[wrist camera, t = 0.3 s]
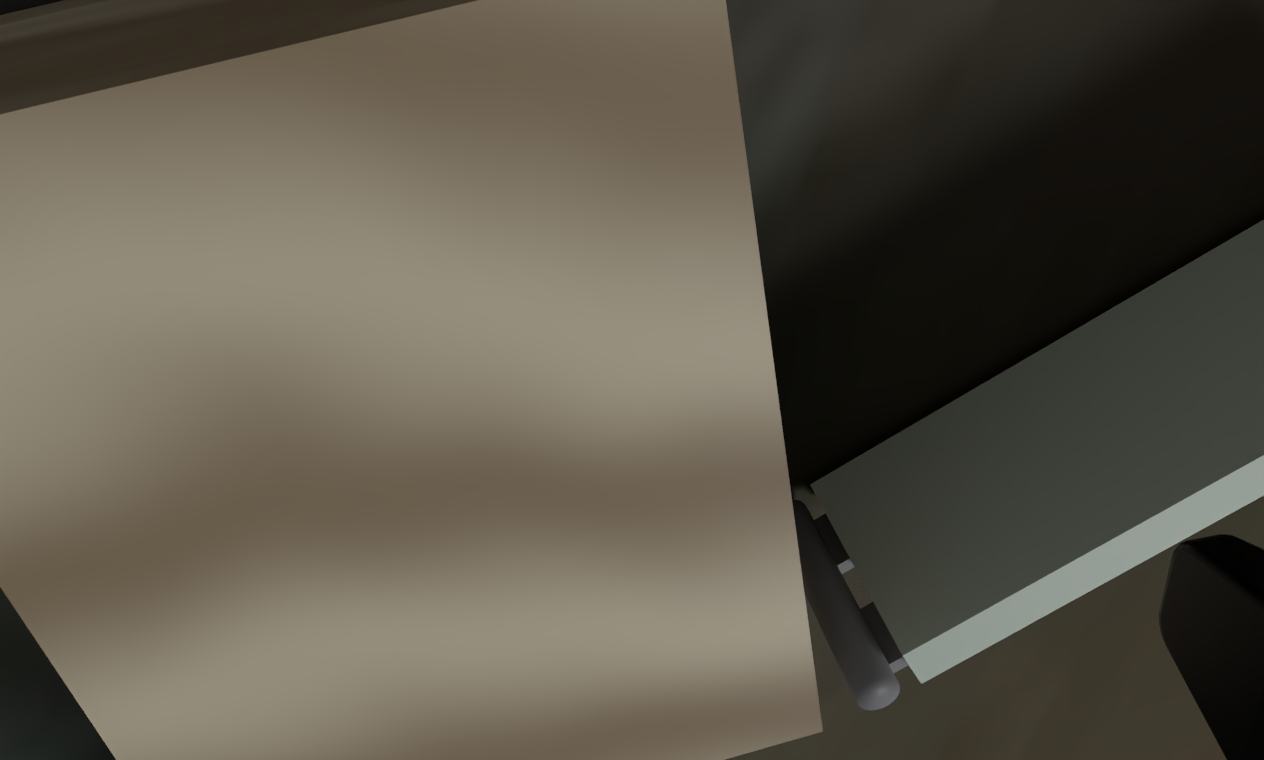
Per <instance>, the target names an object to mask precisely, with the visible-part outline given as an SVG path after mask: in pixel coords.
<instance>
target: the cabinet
mask: <svg viewBox="0 0 1264 760" xmlns="http://www.w3.org/2000/svg"><path fill="white" fill-rule="evenodd" d="M0 587H1V589H2V590H3V592H4V593H5V595H6V596H7V598H8V599H9V601H10V602H11V604H12V605H13V607H14V608H15V610H16V611H17V613H18V614H19V616H20V617H21V619H22V620H23V622H24V623H25V625H26V626H27V628H28V629H29V630H30V632H31V633H32V635H33V636H34V638H35V639H36V641H37V642H38V644H39V645H40V647H41V648H42V650H43V651H44V653H45V654H46V656H47V657H48V659H49V660H50V662H51V663H52V665H53V666H54V668H55V669H56V671H57V672H58V674H59V675H60V677H61V678H62V680H63V681H64V683H65V684H66V686H67V687H68V689H69V690H70V692H71V693H72V695H73V696H74V698H75V699H76V701H77V702H78V704H79V705H80V707H81V708H82V710H83V711H84V712H85V714H86V715H87V717H88V718H89V720H90V721H91V723H92V724H93V726H94V727H95V729H96V730H97V732H98V733H99V735H100V736H101V738H102V739H103V741H104V742H105V744H106V745H107V747H108V748H109V750H110V751H111V753H112V754H113V756H114V757H115V759H116V760H725V759H728V758H732V757H735V756H739V755H742V754H746V753H749V752H753V751H756V750H760V749H763V748H767V747H770V746H774V745H777V744H781V743H784V742H788V741H791V740H794V739H798V738H801V737H805V736H808V735H812V734H815V733H819V732H822V731H823V729H822V722H821V714H820V707H819V699H818V692H817V684H816V677H815V669H814V662H813V654H812V647H811V639H810V631H809V624H808V616H807V609H806V601H805V594H804V586H803V579H802V571H801V564H800V556H799V549H798V541H797V534H796V526H795V519H794V511H793V504H792V496H791V488H790V481H789V473H788V466H787V458H786V451H785V443H784V436H783V428H782V421H781V413H780V406H779V398H778V391H777V383H776V376H775V368H774V361H773V353H772V345H771V338H770V330H769V323H768V315H767V308H766V300H765V293H764V285H763V278H762V270H761V263H760V255H759V248H758V240H757V233H756V225H755V217H754V210H753V202H752V195H751V187H750V180H749V172H748V165H747V157H746V150H745V142H744V135H743V127H742V120H741V112H740V105H739V97H738V90H737V82H736V74H735V67H734V59H733V52H732V44H731V37H730V29H729V22H728V14H727V7H726V0H63V1H59V2H54V3H50V4H46V5H42V6H37V7H33V8H29V9H24V10H20V11H16V12H12V13H7V14H3V15H0Z"/></svg>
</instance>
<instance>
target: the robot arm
mask: <svg viewBox="0 0 1264 760" xmlns="http://www.w3.org/2000/svg"><path fill="white" fill-rule="evenodd" d="M1159 625H1160V631H1161V634H1162V637H1163V640H1164V642H1165V644H1166V647H1167V648H1168V650H1169V652H1170V654H1171V656H1172V658H1173V660H1174V661H1175V663H1176V665H1177V667H1178V669H1179V671H1180V673H1181V675H1182V676H1183V678H1184V680H1185V682H1186V684H1187V686H1188V688H1189V690H1190V691H1191V693H1192V695H1193V697H1194V699H1195V701H1196V703H1197V705H1198V706H1199V708H1200V710H1201V712H1202V714H1203V716H1204V718H1205V720H1206V721H1207V723H1208V725H1209V727H1210V729H1211V731H1212V733H1213V734H1214V736H1215V738H1216V740H1217V742H1218V744H1219V746H1220V748H1221V749H1222V751H1223V753H1224V755H1225V757H1226V759H1227V760H1264V549H1262V548H1260V547H1257V546H1255V545H1253V544H1251V543H1249V542H1246V541H1244V540H1242V539H1240V538H1237V537H1235V536H1232V535H1225V534H1219V535H1214V536H1209V537H1204V538H1198V539H1193V540H1188V541H1185V542H1183V543H1180V545H1179V546H1178V547H1177V548H1176V549H1175V551H1174V553H1173V556H1172V560H1171V564H1170V568H1169V572H1168V576H1167V581H1166V585H1165V589H1164V593H1163V597H1162V602H1161V606H1160V611H1159Z"/></svg>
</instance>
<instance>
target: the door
mask: <svg viewBox="0 0 1264 760" xmlns="http://www.w3.org/2000/svg"><path fill="white" fill-rule="evenodd" d="M810 485H811V487H812V489H813V491H814V493H815V495H816V496H817V498H818V500H819V502H820V504H821V506H822V508H823V509H824V511H825V513H826V514H824V515H822V516H820V517H819V518H817V519H815V520H813V518H812V516H811V514H810V512H809V510H808V508H807V507H806V505H805V504H804V503H803V502H801V501H798V500H792V504H793V511H794V519H795V526H796V534H797V541H798V549H799V556H800V564H801V571H802V579H803V586H804V593H805V595H806V597H807V599H808V601H809V603H810V605H811V607H812V610H813V612H814V614H815V616H816V618H817V620H818V622H819V624H820V626H821V629H822V631H823V633H824V635H825V637H826V639H827V641H828V643H829V646H830V648H831V650H832V652H833V654H834V656H835V658H836V660H837V663H838V665H839V667H840V669H841V671H842V673H843V675H844V677H845V680H846V682H847V684H848V686H849V688H850V690H851V692H852V694H853V697H854V699H855V701H856V703H857V705H858V706H859V707H860V708H862V709H865V710H877V709H881V708H884V707H886V706H887V705H889V704H890V703H892V702H893V701H894V700H895V699H896V698H897V696H898V694H899V691H900V685H899V683H898V681H897V679H896V677H895V675H894V673H895V672H897V671H899V670H900V669H902V668H904V667H906V666H908V665H909V666H910V668H911V669H912V671H913V672H914V674H915V675H916V677H917V678H918V680H919V681H920V683H921V684H922V683H924V682H926V681H927V680H929V679H931V678H933V677H935V676H937V675H938V674H940V673H942V672H944V671H946V670H947V669H949V668H951V667H953V666H955V665H956V664H958V663H960V662H962V661H964V660H966V659H967V658H969V657H971V656H973V655H975V654H976V653H978V652H980V651H982V650H984V649H986V648H987V647H989V646H991V645H993V644H995V643H996V642H998V641H1000V640H1002V639H1004V638H1006V637H1007V636H1009V635H1011V634H1013V633H1015V632H1016V631H1018V630H1020V629H1022V628H1024V627H1025V626H1027V625H1029V624H1031V623H1033V622H1035V621H1036V620H1038V619H1040V618H1042V617H1044V616H1045V615H1047V614H1049V613H1051V612H1053V611H1055V610H1056V609H1058V608H1060V607H1062V606H1064V605H1065V604H1067V603H1069V602H1071V601H1073V600H1075V599H1076V598H1078V597H1080V596H1082V595H1084V594H1085V593H1087V592H1089V591H1091V590H1093V589H1094V588H1096V587H1098V586H1100V585H1102V584H1104V583H1105V582H1107V581H1109V580H1111V579H1113V578H1114V577H1116V576H1118V575H1120V574H1122V573H1124V572H1125V571H1127V570H1129V569H1131V568H1133V567H1134V566H1136V565H1138V564H1140V563H1142V562H1144V561H1145V560H1147V559H1149V558H1151V557H1153V556H1154V555H1156V554H1158V553H1160V552H1162V551H1163V550H1165V549H1167V548H1169V547H1171V546H1173V545H1174V544H1176V543H1178V542H1180V541H1182V540H1183V539H1185V538H1187V537H1189V536H1191V535H1193V534H1194V533H1196V532H1198V531H1200V530H1202V529H1203V528H1205V527H1207V526H1209V525H1211V524H1213V523H1214V522H1216V521H1218V520H1220V519H1222V518H1223V517H1225V516H1227V515H1229V514H1231V513H1232V512H1234V511H1236V510H1238V509H1240V508H1242V507H1243V506H1245V505H1247V504H1249V503H1251V502H1252V501H1254V500H1256V499H1258V498H1260V497H1262V496H1263V495H1264V220H1262V221H1260V222H1259V223H1257V224H1255V225H1254V226H1252V227H1250V228H1248V229H1247V230H1245V231H1243V232H1242V233H1240V234H1238V235H1236V236H1235V237H1233V238H1231V239H1230V240H1228V241H1226V242H1224V243H1223V244H1221V245H1219V246H1218V247H1216V248H1214V249H1212V250H1211V251H1209V252H1207V253H1206V254H1204V255H1202V256H1200V257H1199V258H1197V259H1195V260H1194V261H1192V262H1190V263H1189V264H1187V265H1185V266H1183V267H1182V268H1180V269H1178V270H1177V271H1175V272H1173V273H1171V274H1170V275H1168V276H1166V277H1165V278H1163V279H1161V280H1159V281H1158V282H1156V283H1154V284H1153V285H1151V286H1149V287H1147V288H1146V289H1144V290H1142V291H1141V292H1139V293H1137V294H1135V295H1134V296H1132V297H1130V298H1129V299H1127V300H1125V301H1123V302H1122V303H1120V304H1118V305H1117V306H1115V307H1113V308H1111V309H1110V310H1108V311H1106V312H1105V313H1103V314H1101V315H1099V316H1098V317H1096V318H1094V319H1093V320H1091V321H1089V322H1088V323H1086V324H1084V325H1082V326H1081V327H1079V328H1077V329H1076V330H1074V331H1072V332H1070V333H1069V334H1067V335H1065V336H1064V337H1062V338H1060V339H1058V340H1057V341H1055V342H1053V343H1052V344H1050V345H1048V346H1046V347H1045V348H1043V349H1041V350H1040V351H1038V352H1036V353H1034V354H1033V355H1031V356H1029V357H1028V358H1026V359H1024V360H1022V361H1021V362H1019V363H1017V364H1016V365H1014V366H1012V367H1010V368H1009V369H1007V370H1005V371H1004V372H1002V373H1000V374H998V375H997V376H995V377H993V378H992V379H990V380H988V381H986V382H985V383H983V384H981V385H980V386H978V387H976V388H975V389H973V390H971V391H969V392H968V393H966V394H964V395H963V396H961V397H959V398H957V399H956V400H954V401H952V402H951V403H949V404H947V405H945V406H944V407H942V408H940V409H939V410H937V411H935V412H933V413H932V414H930V415H928V416H927V417H925V418H923V419H921V420H920V421H918V422H916V423H915V424H913V425H911V426H909V427H908V428H906V429H904V430H903V431H901V432H899V433H897V434H896V435H894V436H892V437H891V438H889V439H887V440H885V441H884V442H882V443H880V444H879V445H877V446H875V447H873V448H872V449H870V450H868V451H867V452H865V453H863V454H862V455H860V456H858V457H856V458H855V459H853V460H851V461H850V462H848V463H846V464H844V465H843V466H841V467H839V468H838V469H836V470H834V471H832V472H831V473H829V474H827V475H826V476H824V477H822V478H820V479H819V480H817V481H815V482H814V483H812V484H810ZM853 567H855V569H856V571H857V572H858V574H859V576H860V578H861V580H862V582H863V584H864V585H865V587H866V589H867V591H868V593H869V595H870V597H871V598H872V600H873V602H872V603H870V604H868V605H867V606H865V607H863V608H861V609H860V608H859V606H858V604H857V602H856V601H855V599H854V597H853V595H852V593H851V591H850V589H849V587H848V585H847V583H846V581H845V579H844V578H843V576H842V574H843V573H845V572H846V571H848V570H850V569H852V568H853Z"/></svg>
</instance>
